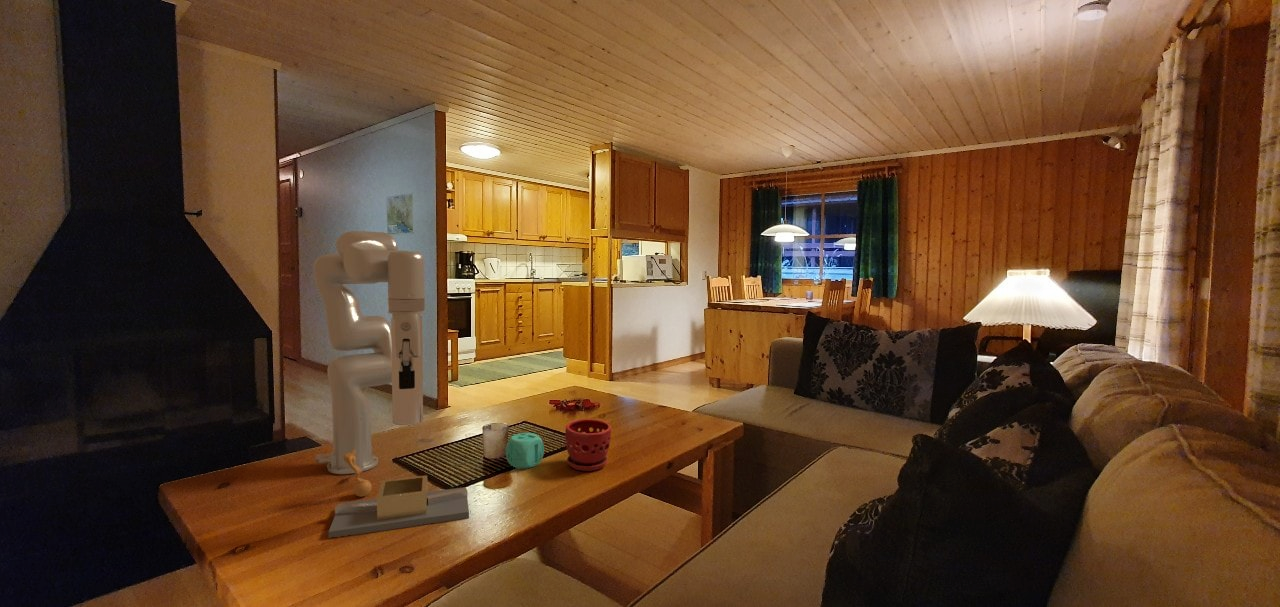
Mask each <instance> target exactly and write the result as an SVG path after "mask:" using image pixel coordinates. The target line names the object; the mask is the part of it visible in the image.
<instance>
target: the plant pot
mask: <svg viewBox="0 0 1280 607" xmlns="http://www.w3.org/2000/svg"><path fill="white" fill-rule="evenodd" d="M591 428H592V431H591V430H590V429H591ZM579 429H580V430H579ZM611 438H612V426H611V424H609V423H608V422H606V421H603V420H599V419H594V418H593V419H592V418H584V419H583V418H582V419H576V420H572V421H570V422H569V423H567V424H566V426H565V447H566V451H567V454H568V456H567V458H566V462H567V464H568V465H569V466H570V468H572V469H575V470H579V471H584V472H590V471H597V470H600V469H602V468H603V467H605V466H606V465H607V463H608V457H607V454H608V452H609V449H610V446H611Z"/></svg>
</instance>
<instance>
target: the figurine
mask: <svg viewBox="0 0 1280 607" xmlns="http://www.w3.org/2000/svg"><path fill="white" fill-rule="evenodd" d="M355 454H356V452H355V450H352V451H351V452H349V453H347V454H345V455H344V456H343V459H344V461H345V462H346V463H347V464H348V465H349V467H351V468H352V469H353V471H355V472H356V473H354V476H355V480H357V482H356V483H355V484H354V487H353V492H354V495H356V496H357V497H360V498H362V497H366V496H367V495H369V494H370V492H372V486H373V485H372V483H371V482H370V480H368V479H363V478H362V477H361V478H360V476H361V475H362V473H363V471H362V470H361V468H359V467H358V466H357V465H355Z"/></svg>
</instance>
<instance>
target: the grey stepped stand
mask: <svg viewBox="0 0 1280 607" xmlns="http://www.w3.org/2000/svg"><path fill="white" fill-rule="evenodd" d="M377 492H378V493H377V497H376V498H377V502H375V503H354V504H340V503H338V504H336V506H334V515H335V514H354V513H374V512H377V521H379V520H386V519H393V518H400V517H407V516H415V515H422V514H427V504H428V505H433V504H437V503H442V502H447V501H451V500H456V499H460V498H465V497H467V498H468V490H467V487H466V488H464V489H459V490H454V491H449V492H445V493H440V494H435V495H430V496H427V492H428V475H420V476H419V475H418V476H412V477H411V476H410V477H402V478H394V479H385V480H381V481H380V485H379V489H378V491H377Z"/></svg>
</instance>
